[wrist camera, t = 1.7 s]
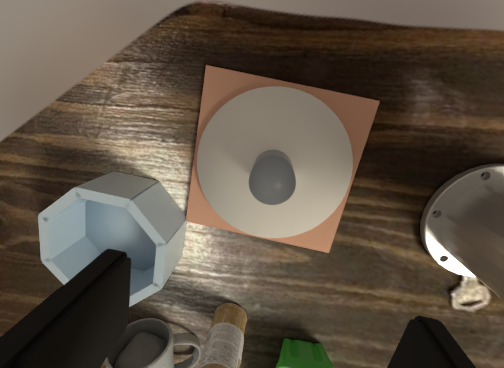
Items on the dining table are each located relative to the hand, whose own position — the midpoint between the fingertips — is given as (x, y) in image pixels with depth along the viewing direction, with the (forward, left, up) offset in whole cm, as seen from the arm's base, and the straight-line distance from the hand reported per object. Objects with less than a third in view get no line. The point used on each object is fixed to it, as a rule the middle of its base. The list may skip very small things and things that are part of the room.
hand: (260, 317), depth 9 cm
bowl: (+15, +11, -20) cm, 27 cm away
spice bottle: (+1, +21, -21) cm, 29 cm away
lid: (0, 0, -20) cm, 20 cm away
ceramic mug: (+9, +27, -21) cm, 36 cm away
